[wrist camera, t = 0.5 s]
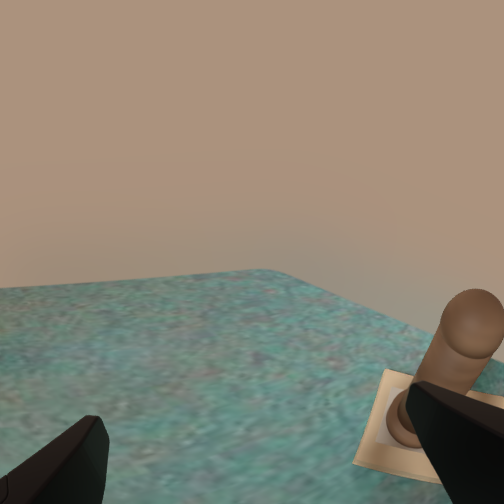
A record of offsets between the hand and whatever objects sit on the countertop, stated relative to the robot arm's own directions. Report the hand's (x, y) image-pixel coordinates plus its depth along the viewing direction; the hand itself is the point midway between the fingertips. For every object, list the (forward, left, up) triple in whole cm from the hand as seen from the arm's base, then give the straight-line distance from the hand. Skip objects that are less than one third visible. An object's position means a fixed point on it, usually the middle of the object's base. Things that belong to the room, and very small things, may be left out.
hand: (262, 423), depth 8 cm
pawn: (+1, -15, -15) cm, 21 cm away
